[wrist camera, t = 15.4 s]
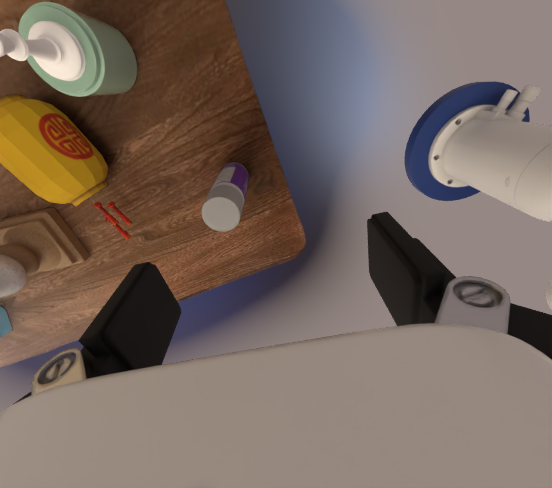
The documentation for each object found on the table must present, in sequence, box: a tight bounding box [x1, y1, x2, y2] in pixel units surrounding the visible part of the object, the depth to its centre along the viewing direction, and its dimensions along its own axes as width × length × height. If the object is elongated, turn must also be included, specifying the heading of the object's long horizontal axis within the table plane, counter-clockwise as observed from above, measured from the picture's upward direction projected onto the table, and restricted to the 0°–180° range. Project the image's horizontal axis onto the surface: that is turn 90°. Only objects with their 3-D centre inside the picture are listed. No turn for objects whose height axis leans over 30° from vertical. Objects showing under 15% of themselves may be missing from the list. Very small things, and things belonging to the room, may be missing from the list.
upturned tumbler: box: [19, 2, 137, 97], centre depth 30 cm, size 8×8×9 cm
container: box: [202, 162, 249, 231], centre depth 36 cm, size 5×5×15 cm
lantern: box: [0, 94, 132, 239], centre depth 35 cm, size 10×10×30 cm
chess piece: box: [0, 21, 86, 81], centre depth 22 cm, size 5×5×10 cm
